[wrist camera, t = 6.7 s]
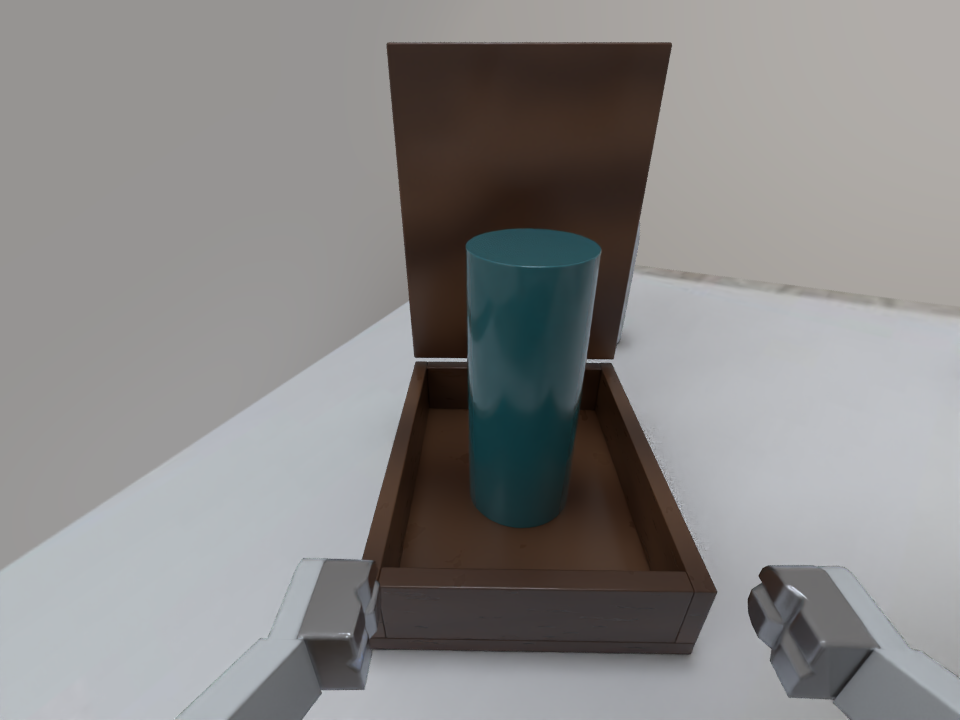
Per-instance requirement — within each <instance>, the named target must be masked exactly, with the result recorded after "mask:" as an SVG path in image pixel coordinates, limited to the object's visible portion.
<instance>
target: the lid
mask: <svg viewBox="0 0 960 720" xmlns="http://www.w3.org/2000/svg"><path fill="white" fill-rule="evenodd" d="M671 47H672V43H669V42H668V43H667V42H665V43H664V42H658V43H656V42H654V43H652V42H651V43H650V42H649V43H648V42H640V43H638V42H637V43H636V42H635V43H633V42H626V43H625V42H620V43H619V42H617V43H616V42H613V43H612V42H610V43H607V42H606V43H605V42H603V43H602V42H599V43H598V42H596V43H594V42H589V43H586V42H584V43H583V42H582V43H579V42H577V43H576V42H570V43H568V42H567V43H566V42H559V43H557V42H556V43H555V42H553V43H551V42H548V43H547V42H546V43H544V42H542V43H541V42H538V43H537V42H536V43H530V42H529V43H528V42H524V43H523V42H522V43H521V42H520V43H519V42H512V43H510V42H509V43H507V42H506V43H504V42H503V43H500V42H499V43H497V42H491V43H490V42H489V43H487V42H484V43H483V42H474V43H473V42H469V43H468V42H463V43H462V42H461V43H457V42H448V43H447V42H446V43H445V42H443V43H442V42H440V43H439V42H438V43H437V42H436V43H435V42H431V43H429V42H427V43H426V42H422V43H421V42H412V43H411V42H408V43H407V42H405V43H404V42H399V43H397V42H393V43H391V42H389V43H387V56H388V67H389V79H390V89H391V101H392V112H393V123H394V135H395V146H396V157H397V167H398V179H399V191H400V201H401V213H402V223H403V234H404V246H405V256H406V257H405V258H406V268H407V279H408V291H409V303H410V314H411V325H412V336H413V347H414V357H415V358H467V315H466V248H465V246H466V243H467V242H468V241H469V240H470V239H471V238H473V237H475V236H478V235H480V234H484V233H487V232H492V231H498V230H506V229H548V230H557V231H563V232H568V233H573V234H577V235H580V236H584V237H586V238H589V239H591V240H593V241H595V242H596V243H597V244H598V245H599V246H600V247H601V251H602V252H601V259H600V266H599V274H598V281H597V288H596V295H595V303H594V310H593V317H592V324H591V332H590V339H589V346H588V353H587V359H614V355H615V349H616V344H617V339H618V333H619V328H620V322H621V317H622V312H623V306H624V301H625V295H626V290H627V285H628V279H629V274H630V268H631V263H632V258H633V252H634V247H635V242H636V236H637V231H638V225H639V220H640V214H641V209H642V203H643V198H644V193H645V188H646V182H647V177H648V171H649V166H650V161H651V155H652V150H653V144H654V139H655V134H656V128H657V123H658V117H659V112H660V107H661V101H662V96H663V90H664V85H665V80H666V74H667V69H668V63H669V58H670V53H671Z"/></svg>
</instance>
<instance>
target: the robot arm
mask: <svg viewBox="0 0 960 720" xmlns="http://www.w3.org/2000/svg"><path fill="white" fill-rule="evenodd" d="M377 571H378V569H377V564H376V560H352V559H328V558H303V559H302V560H301V562H300V563H299V564H298V566H297V567H296V570H295V572H294V575H293V577H292V580H291V582H290V584H289V587H288V589H287V592H286V594H285V597H284V599H283V601H282V604H281V606H280V609H279V611H278V614H277V616H276V619H275V621H274V623H273V626H272V628H271V631H270V633H269V636H268V638H260V639H259V640H258V641H257V642H256V643H255V644H254V645H252V646H251V647H250V648H249V649H248V650H247V651H246V652H245V653H244V654H243V655H242V656H241V657H240V658H239V659H238V660H237V661H236V662H234V663H233V664H232V665H231V666H230V667H229V668H228V669H227V670H226V671H225V672H224V673H223V674H222V675H221V676H220V677H219V678H218V679H216V680H215V681H214V682H213V683H212V684H211V685H210V686H209V687H208V688H207V689H206V690H205V691H204V692H203V693H202V694H201V695H200V696H198V697H197V698H196V699H195V700H194V701H193V702H192V703H191V704H190V705H189V706H188V707H187V708H186V709H185V710H184V711H183V712H182V713H180V714H179V715H178V716H177V717H176V718H175V719H174V720H302V719H303V718H304V716H305V715H306V714H307V712H308V711H309V710H310V708H311V707H312V706H313V704H314V703H315V702H316V700H317V699H318V698H319V696H320V695H321V694H322V692H321V690H365V685H366V681H367V676H368V671H369V666H370V662H371V657H372V650H371V645H370V640H369V639H370V638H371V637H372V636H373V635H374V634H375V632H376V631H377V628H378V623H379V618H380V609H381V586H380V583H379V582H378V581H377V580H376V576H377ZM759 578H760V580H761V581H762V583H761V584H759V585H758V586H756V587H755V588H753V589H752V590H751V593H750V595H749V597H748V613H749V617H750V620H751V623H752V626H753V628H754V630H755V632H756V634H757V636H758V638H759V639H761V640H762V641H763V642H764V643H765V644H766V645H768V646H769V647H770V648H771V656H770V662H771V664H772V666H773V668H774V670H775V672H776V674H777V676H778V678H779V680H780V682H781V684H782V686H783V688H784V690H785V692H786V694H787V695H788V697H789V698H809V699H830V700H834V701H833V703H834V704H835V705H836V706H837V707H838V708H839V709H840V710H841V711H842V712H843V713H844V714H845V715H846V716H847V717H848V718H849V719H850V720H960V678H959V677H958V676H956V675H955V674H953V673H952V672H950V671H949V670H948V669H946V668H945V667H943V666H942V665H940V664H939V663H938V662H936V661H935V660H933V659H932V658H930V657H929V656H928V655H926V654H925V653H923V652H922V651H920V650H913V649H911V648H910V647H909V646H908V644H907V643H906V642H905V640H904V639H903V638H902V637H901V635H900V634H899V633H898V631H897V630H896V629H895V628H894V626H893V625H892V624H891V622H890V621H889V620H888V619H887V617H886V616H885V615H884V613H883V612H882V611H881V609H880V608H879V607H878V606H877V604H876V603H875V602H874V600H873V599H872V598H871V597H870V595H869V594H868V593H867V591H866V590H865V589H864V588H863V586H862V585H861V584H860V582H859V581H858V580H857V578H856V577H855V576H854V575H853V574H852V572H850V571H849V570H848V569H846V568H845V567H840V566H814V565H768V566H766V567H764V568H762V570H761V572H760V574H759Z"/></svg>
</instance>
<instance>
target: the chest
mask: <svg viewBox="0 0 960 720" xmlns="http://www.w3.org/2000/svg"><path fill="white" fill-rule="evenodd" d="M362 560H376V564H377V569H378V571H377V576H376V580H377V581H378V582H379V583H380V586H381V609H380V618H379V623H378V628H377V631H376V632H375V634H374V635H373V636H372V637H371V638H370V639H369V640H370V645H371V649H411V650H471V651H532V652H593V653H654V654H691V652H692V649H693V647H694V645H695V642H696V640H697V638H698V636H699V633H700V631H701V629H702V626H703V624H704V622H705V620H706V617H707V615H708V613H709V610H710V608H711V606H712V603H713V601H714V599H715V596H716V594H717V590H716V588H715V586H714V584H713V581H712V579H711V577H710V575H709V573H708V571H707V569H706V566H705V564H704V562H703V560H702V558H701V556H700V553H699V551H698V549H697V547H696V545H695V543H694V540H693V538H692V536H691V534H690V532H689V530H688V528H687V525H686V523H685V521H684V519H683V517H682V515H681V512H680V510H679V508H678V506H677V504H676V502H675V499H674V497H673V495H672V493H671V491H670V489H669V486H668V484H667V482H666V480H665V478H664V476H663V474H662V471H661V469H660V467H659V465H658V463H657V461H656V458H655V456H654V454H653V452H652V450H651V448H650V445H649V443H648V441H647V439H646V437H645V435H644V433H643V430H642V428H641V426H640V424H639V422H638V420H637V417H636V415H635V413H634V411H633V409H632V407H631V404H630V402H629V400H628V398H627V396H626V394H625V392H624V389H623V387H622V385H621V383H620V381H619V379H618V376H617V374H616V372H615V370H614V368H613V366H612V363H586V368H585V375H584V382H583V390H582V397H581V404H580V411H579V419H578V426H577V433H576V440H575V448H574V455H573V462H572V470H571V477H570V484H569V491H568V498H567V502H566V505H565V507H564V509H563V510H562V511H561V513H560V514H559V515H558V516H557V517H555V518H554V519H553V520H551V521H549V522H548V523H545V524H543V525H540V526H536V527H531V528H513V527H507V526H504V525H500V524H498V523H495V522H493V521H492V520H490V519H488V518H487V517H485V516H484V515H483V514H482V513H480V512H479V510H478V509H477V508H476V507H475V505H474V504H473V502H472V500H471V497H470V493H469V450H468V383H467V362H416V363H415V366H414V370H413V374H412V377H411V381H410V385H409V388H408V392H407V396H406V399H405V403H404V407H403V410H402V414H401V418H400V421H399V425H398V429H397V432H396V436H395V440H394V443H393V447H392V451H391V454H390V458H389V462H388V465H387V469H386V473H385V477H384V480H383V484H382V488H381V491H380V495H379V499H378V502H377V506H376V510H375V513H374V517H373V521H372V524H371V528H370V532H369V535H368V539H367V543H366V546H365V550H364V554H363V557H362Z"/></svg>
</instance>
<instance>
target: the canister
mask: <svg viewBox="0 0 960 720" xmlns="http://www.w3.org/2000/svg"><path fill="white" fill-rule="evenodd" d="M465 248H466V315H467V383H468V450H469V493H470V497H471V500H472V502H473V504H474V505H475V507H476V508H477V509H478V510H479V512H480V513H482V514H483V515H484V516H485V517H487V518H488V519H490V520H492V521H493V522H495V523H498V524H500V525H504V526H507V527H513V528H531V527H536V526H540V525H543V524H545V523H548V522H549V521H551V520H553V519H554V518H555V517H557V516H558V515H559V514H560V513H561V511H562V510H563V509H564V507H565V505H566V502H567V498H568V491H569V484H570V477H571V470H572V462H573V455H574V448H575V440H576V433H577V426H578V419H579V411H580V404H581V397H582V390H583V382H584V375H585V368H586V361H587V353H588V346H589V339H590V332H591V324H592V317H593V310H594V303H595V295H596V288H597V281H598V274H599V266H600V259H601V252H602V251H601V247H600V246H599V245H598V244H597V243H596V242H595V241H593V240H591V239H589V238H586V237H584V236H580V235H577V234H573V233H568V232H563V231H557V230H548V229H506V230H498V231H492V232H487V233H484V234H480V235H478V236H475V237H473V238H471V239H470V240H469V241H468V242H467V243H466V246H465Z"/></svg>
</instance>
